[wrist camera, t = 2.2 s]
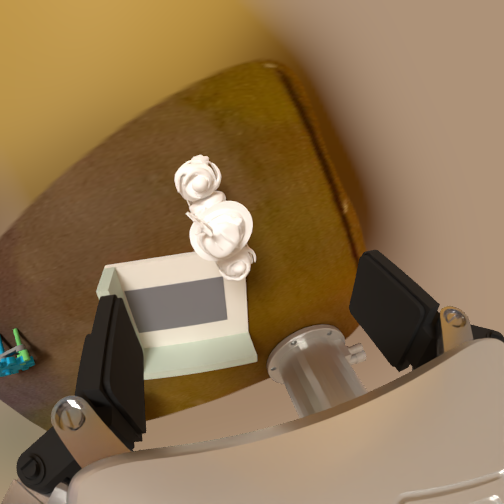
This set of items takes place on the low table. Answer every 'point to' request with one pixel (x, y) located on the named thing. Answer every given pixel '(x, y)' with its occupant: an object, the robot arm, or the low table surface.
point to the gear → (5, 364)
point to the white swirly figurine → (215, 219)
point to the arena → (182, 313)
